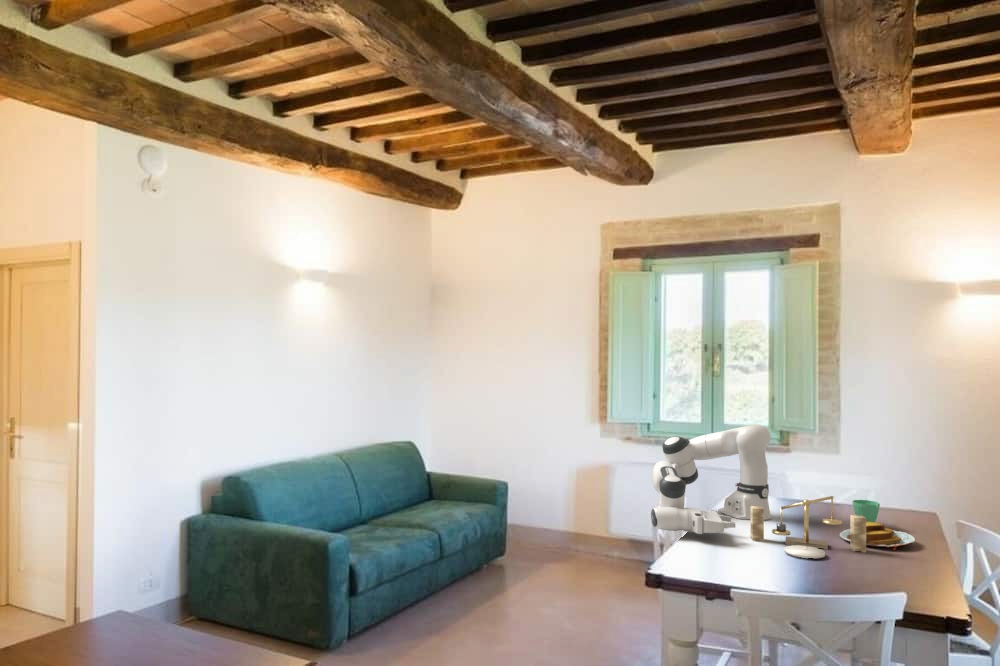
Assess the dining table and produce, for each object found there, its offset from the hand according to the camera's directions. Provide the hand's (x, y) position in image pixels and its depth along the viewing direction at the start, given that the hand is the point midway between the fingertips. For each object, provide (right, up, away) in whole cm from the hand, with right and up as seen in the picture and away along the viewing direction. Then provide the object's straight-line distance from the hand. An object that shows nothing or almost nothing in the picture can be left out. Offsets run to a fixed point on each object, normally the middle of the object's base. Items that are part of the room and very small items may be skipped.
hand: (733, 521), depth 269 cm
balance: (+24, -6, -8) cm, 26 cm away
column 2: (+40, -6, -15) cm, 43 cm away
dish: (+18, -6, -21) cm, 28 cm away
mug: (+62, -8, +23) cm, 66 cm away
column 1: (+9, -6, -1) cm, 11 cm away
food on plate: (+53, -7, -2) cm, 54 cm away
